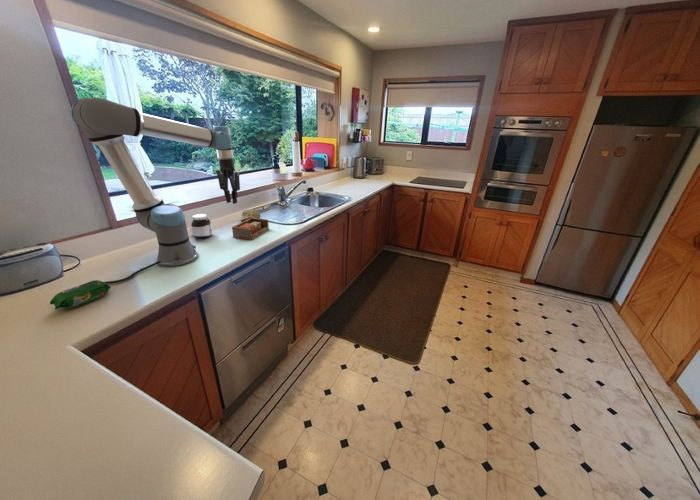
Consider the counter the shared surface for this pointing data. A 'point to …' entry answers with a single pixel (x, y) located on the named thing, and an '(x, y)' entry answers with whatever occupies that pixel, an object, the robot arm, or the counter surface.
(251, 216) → the sponge
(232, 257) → the counter surface
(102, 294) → the snack package
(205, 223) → the spread jar
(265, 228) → the wooden box
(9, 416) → the counter surface
